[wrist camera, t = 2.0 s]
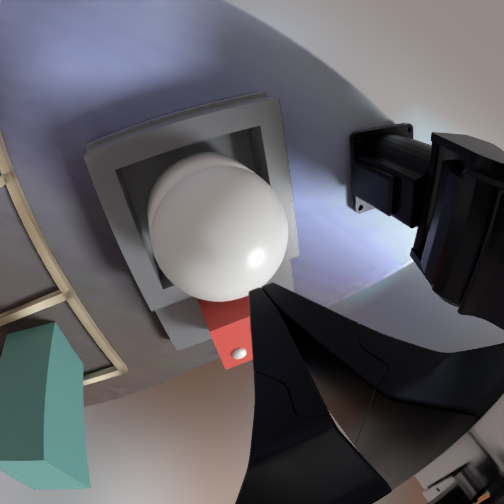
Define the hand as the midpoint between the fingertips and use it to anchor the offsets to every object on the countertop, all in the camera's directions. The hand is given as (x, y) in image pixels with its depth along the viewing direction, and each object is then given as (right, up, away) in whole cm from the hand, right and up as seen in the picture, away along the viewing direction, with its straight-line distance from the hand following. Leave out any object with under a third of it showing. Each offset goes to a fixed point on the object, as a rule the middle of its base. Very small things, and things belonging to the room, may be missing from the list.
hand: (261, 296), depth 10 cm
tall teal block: (-17, -6, +9) cm, 20 cm away
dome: (-3, +4, +6) cm, 8 cm away
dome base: (-3, +3, +10) cm, 11 cm away
